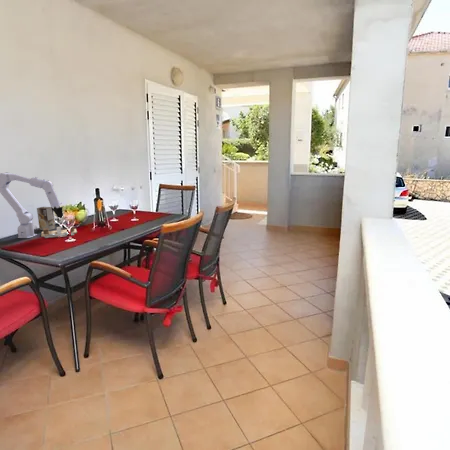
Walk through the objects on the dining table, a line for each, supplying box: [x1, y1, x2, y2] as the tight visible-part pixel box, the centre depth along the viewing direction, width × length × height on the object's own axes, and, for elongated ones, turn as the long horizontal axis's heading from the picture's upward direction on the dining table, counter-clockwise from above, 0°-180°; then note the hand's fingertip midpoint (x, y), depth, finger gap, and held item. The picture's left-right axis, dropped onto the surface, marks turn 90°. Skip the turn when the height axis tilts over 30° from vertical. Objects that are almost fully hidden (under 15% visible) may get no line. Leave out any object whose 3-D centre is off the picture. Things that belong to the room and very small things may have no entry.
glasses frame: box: [43, 226, 75, 239], centre depth 229 cm, size 18×4×6 cm, turn 115°
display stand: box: [40, 225, 78, 237], centre depth 237 cm, size 22×10×4 cm, turn 116°
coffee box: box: [36, 206, 56, 231], centre depth 248 cm, size 9×6×16 cm
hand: (60, 217), depth 232 cm, fingers open, 7 cm apart
